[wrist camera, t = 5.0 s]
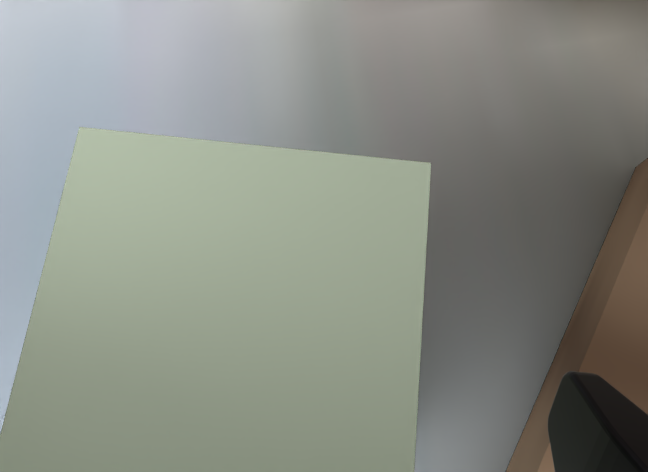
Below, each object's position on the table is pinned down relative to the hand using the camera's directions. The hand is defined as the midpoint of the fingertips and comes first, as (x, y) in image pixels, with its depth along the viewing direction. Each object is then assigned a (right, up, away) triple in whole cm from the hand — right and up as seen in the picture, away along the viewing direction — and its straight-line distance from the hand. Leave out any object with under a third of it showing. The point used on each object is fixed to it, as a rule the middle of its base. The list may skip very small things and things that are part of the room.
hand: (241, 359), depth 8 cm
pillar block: (0, -2, +7) cm, 7 cm away
